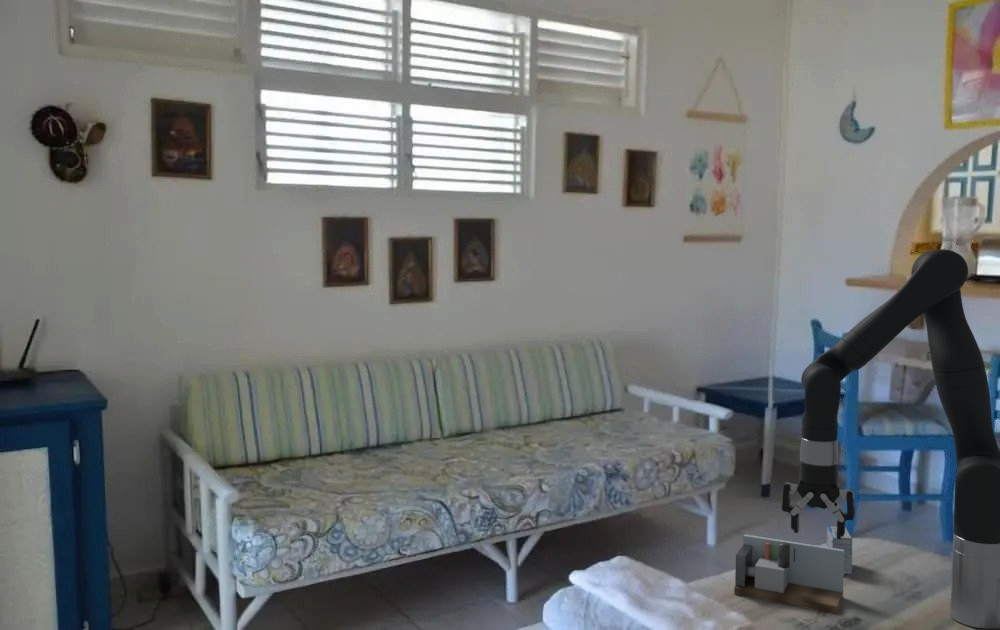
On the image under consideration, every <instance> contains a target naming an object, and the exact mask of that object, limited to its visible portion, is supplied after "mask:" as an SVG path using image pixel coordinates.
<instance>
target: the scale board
mask: <svg viewBox="0 0 1000 630" xmlns="http://www.w3.org/2000/svg"><path fill="white" fill-rule="evenodd" d="M779 542H787V543H789V544H790V567H789V568H788V583H793V584H799V585H804V586H810V587H816V588H821V589H827V590H832V591H838V592H843V593H844V576H845V574H844V550H842V549H836V548H829V547H827V546H823V545H816V544H815V545H814V544H808V543H802V542H797V541H790V540H785V539H776V538H770V537H765V536H757V535H751V534H743V542H742V543H743V545H749V546H752V567H755V565H756V563H757V562H758V560H759V559H760V558H764V559H765V544H766V543H770V560H776V561H778V543H779ZM743 545H742V546H743Z"/></svg>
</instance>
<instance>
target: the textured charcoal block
mask: <svg viewBox="0 0 1000 630" xmlns="http://www.w3.org/2000/svg"><path fill="white" fill-rule="evenodd" d="M748 566H749V567H752V546H749V545H741V547H740V548H739V550H738V551H737V552H736V554H735V578H734V579H735V585H734V587H735V586H738V587H744V588H745V586H746V585H747V583H748V582H749V580H750V578H751V576H747V569H748Z"/></svg>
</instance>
